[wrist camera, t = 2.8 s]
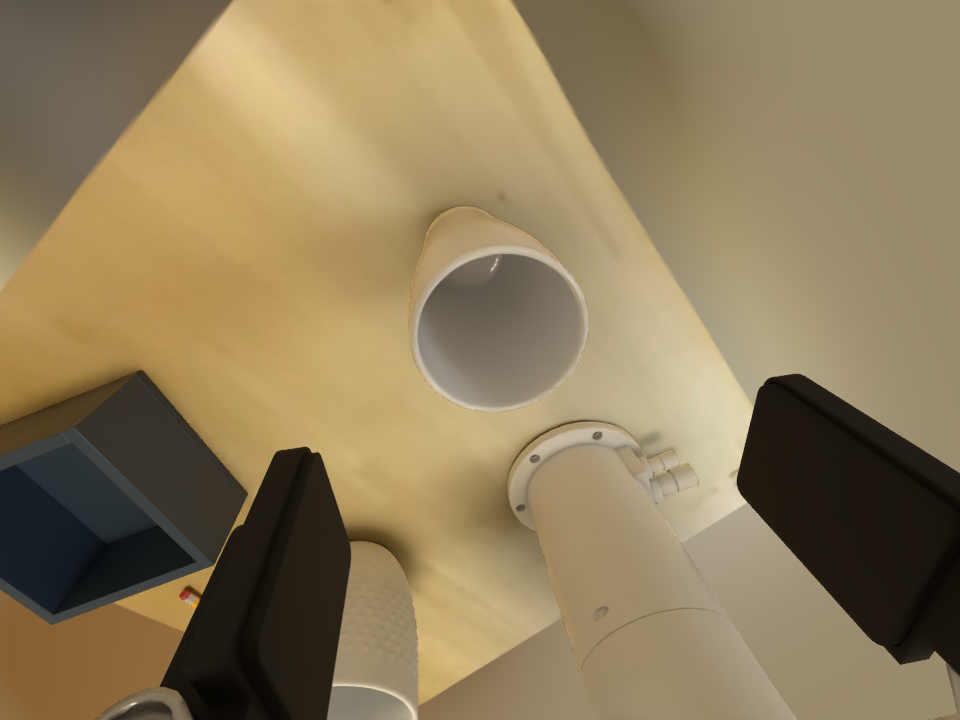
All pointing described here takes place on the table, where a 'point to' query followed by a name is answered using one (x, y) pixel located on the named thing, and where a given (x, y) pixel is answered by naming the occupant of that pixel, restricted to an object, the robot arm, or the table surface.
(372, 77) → the table surface
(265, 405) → the table surface
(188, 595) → the pencil
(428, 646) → the table surface
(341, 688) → the mug
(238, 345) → the table surface
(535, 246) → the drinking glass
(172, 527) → the bin
